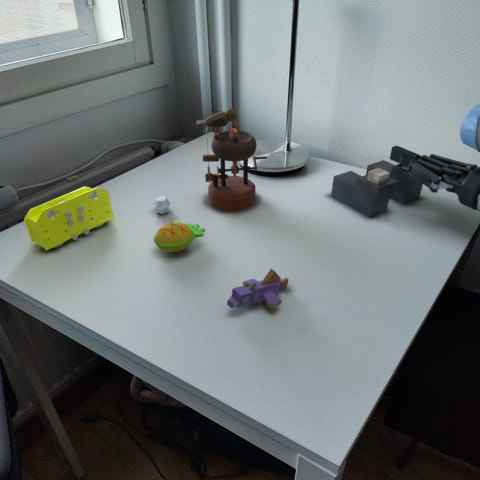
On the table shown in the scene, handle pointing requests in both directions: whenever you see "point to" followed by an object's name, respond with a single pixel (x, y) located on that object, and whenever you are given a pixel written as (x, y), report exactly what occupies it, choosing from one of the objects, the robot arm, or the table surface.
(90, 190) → the yellow toy chassis
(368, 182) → the high key block
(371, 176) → the high key
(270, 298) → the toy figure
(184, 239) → the toy pineapple
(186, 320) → the table surface
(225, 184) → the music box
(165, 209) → the game die
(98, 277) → the table surface
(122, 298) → the table surface
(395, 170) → the low key block
